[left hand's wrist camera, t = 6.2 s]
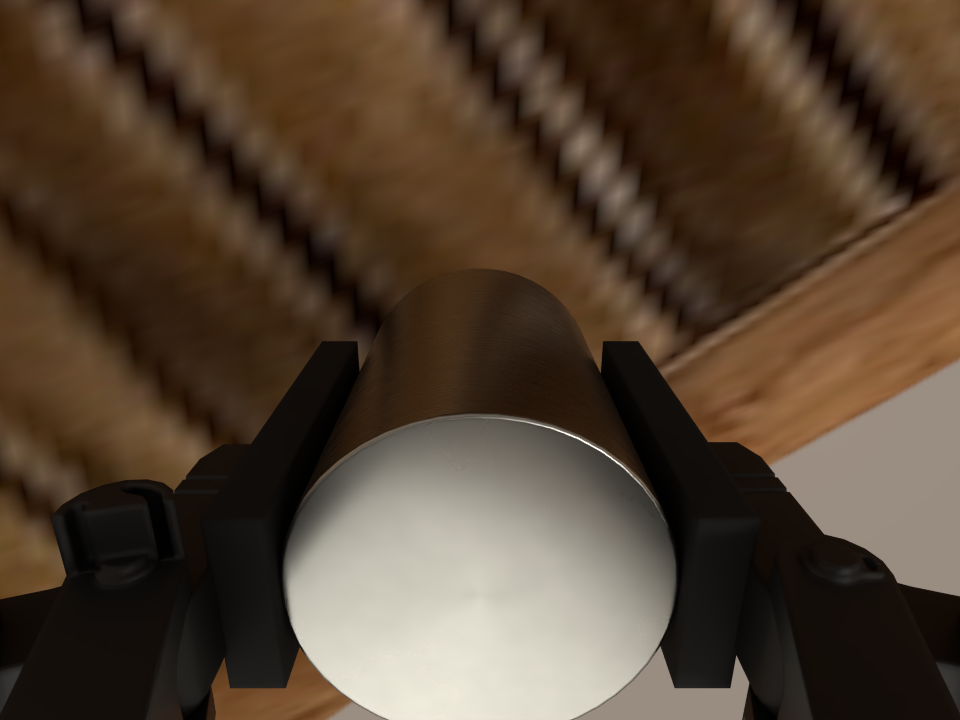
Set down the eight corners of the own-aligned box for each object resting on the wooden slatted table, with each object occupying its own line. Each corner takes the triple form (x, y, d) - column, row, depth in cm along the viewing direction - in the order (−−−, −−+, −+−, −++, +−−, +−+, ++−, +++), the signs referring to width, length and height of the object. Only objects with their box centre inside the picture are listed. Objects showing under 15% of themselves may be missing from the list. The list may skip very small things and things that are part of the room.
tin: (368, 462, 17) (284, 729, 9) (372, 258, 15) (271, 398, 8) (573, 476, 17) (643, 750, 10) (603, 277, 15) (719, 430, 8)
